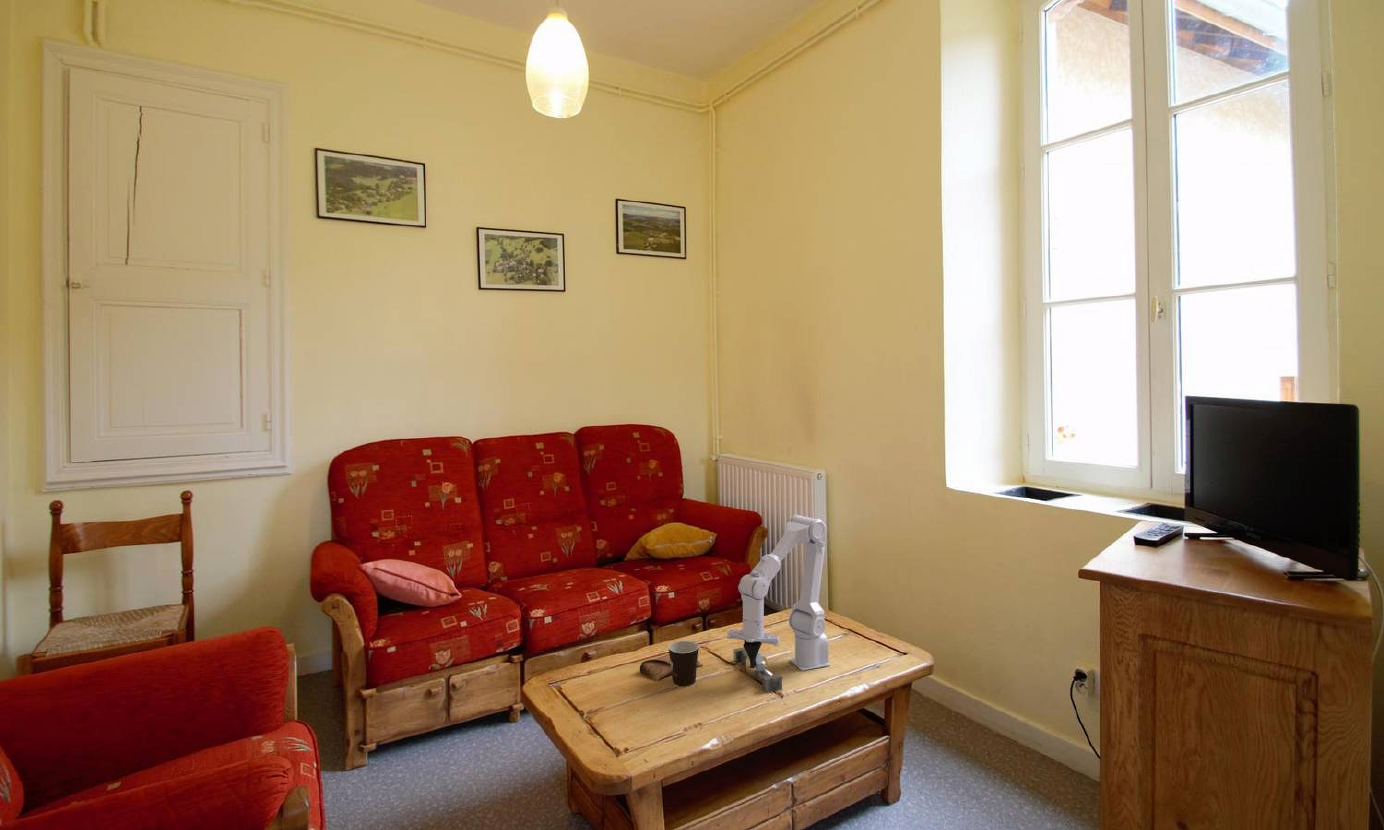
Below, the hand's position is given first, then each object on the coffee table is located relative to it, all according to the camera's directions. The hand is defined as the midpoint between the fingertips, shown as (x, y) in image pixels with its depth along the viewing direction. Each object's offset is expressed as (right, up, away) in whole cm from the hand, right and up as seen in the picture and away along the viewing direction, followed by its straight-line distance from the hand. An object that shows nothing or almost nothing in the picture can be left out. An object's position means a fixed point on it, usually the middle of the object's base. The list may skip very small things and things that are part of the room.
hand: (753, 666), depth 187 cm
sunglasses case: (-23, -6, +12) cm, 26 cm away
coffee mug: (-19, -5, +5) cm, 20 cm away
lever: (+2, 0, +3) cm, 4 cm away
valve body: (+2, -5, +7) cm, 8 cm away
